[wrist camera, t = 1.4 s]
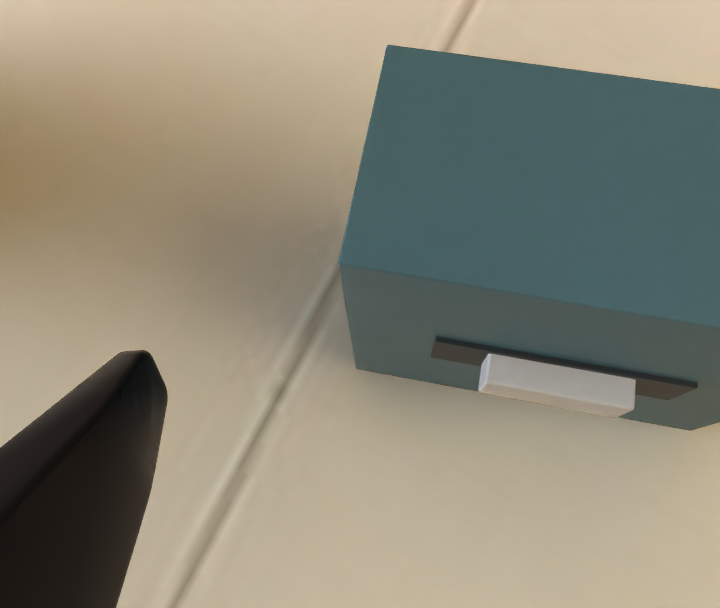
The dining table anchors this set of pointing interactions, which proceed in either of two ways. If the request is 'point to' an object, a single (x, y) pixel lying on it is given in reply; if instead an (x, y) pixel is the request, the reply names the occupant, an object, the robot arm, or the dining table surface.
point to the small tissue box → (539, 236)
